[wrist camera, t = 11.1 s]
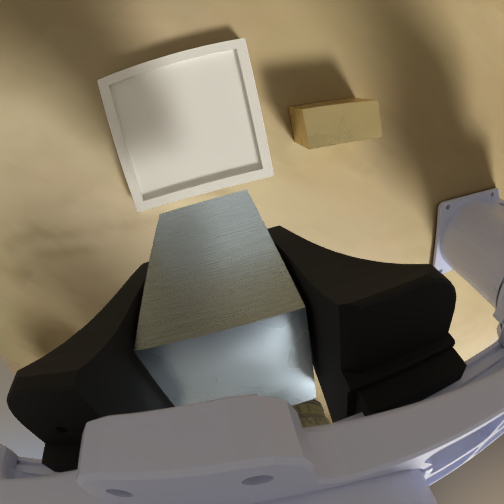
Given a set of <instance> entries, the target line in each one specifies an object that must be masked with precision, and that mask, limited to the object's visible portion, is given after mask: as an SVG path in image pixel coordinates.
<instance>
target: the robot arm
mask: <svg viewBox="0 0 504 504" xmlns="http://www.w3.org/2000/svg"><path fill="white" fill-rule="evenodd" d="M499 195H500V190H499V189H498V188H493V189H489V190H485V191H482V192H478V193H474V194H470V195H467V196H463V197H459V198H455V199H451V200H448V201H444V202H441V203H440V204H439V206H438V217H437V230H436V240H435V249H434V258H433V265H431V264H395V263H384V262H376V261H370V260H365V259H360V258H355V257H351V256H348V255H344V254H341V253H337V252H334V251H331V250H329V249H326V248H324V247H321V246H319V245H316V244H314V243H312V242H310V241H308V240H306V239H304V238H302V237H300V236H298V235H296V234H294V233H292V232H290V231H289V230H287V229H285V228H283V227H281V226H276V227H272V228H269V229H267V230H268V232H269V234H270V236H271V238H272V240H273V242H274V244H275V246H276V248H277V250H278V252H279V254H280V256H281V258H282V260H283V262H284V264H285V266H286V268H287V270H288V272H289V274H290V276H291V278H292V280H293V283H294V285H295V287H296V289H297V291H298V293H299V295H300V297H301V299H302V301H303V303H304V305H305V307H306V315H307V322H308V330H309V338H310V347H311V355H312V364H313V366H314V369H315V372H316V375H317V377H318V380H319V383H320V386H321V389H322V392H323V395H324V397H325V400H326V403H327V406H328V409H329V412H330V415H331V418H332V422H333V423H330V424H325V425H319V426H313V427H306V428H302V425H301V422H300V419H299V416H298V413H297V411H296V410H295V409H294V408H293V407H292V406H291V405H290V404H289V403H288V402H287V401H286V400H283V399H279V398H275V397H270V396H265V395H260V394H250V395H239V396H228V397H223V398H218V399H214V400H209V401H204V402H199V403H194V404H188V405H183V406H177V407H175V406H174V405H173V403H172V402H171V401H170V400H169V398H168V397H167V396H166V394H165V393H164V392H163V391H162V389H161V388H160V387H159V385H158V384H157V383H156V381H155V380H154V379H153V377H152V376H151V374H150V373H149V372H148V370H147V369H146V367H145V366H144V365H143V363H142V362H141V360H140V359H139V358H138V356H137V355H136V353H135V352H134V348H135V341H136V334H137V328H138V321H139V315H140V309H141V303H142V297H143V292H144V286H145V281H146V275H147V270H148V265H149V262H146V263H143V264H142V265H141V266H140V267H139V268H138V269H137V270H136V271H135V272H134V274H133V275H132V276H131V277H130V278H129V279H128V281H127V282H126V283H125V284H124V285H123V287H122V288H121V289H120V290H119V291H118V292H117V294H116V295H115V296H114V297H113V298H112V299H111V300H110V301H109V302H108V304H107V305H106V306H105V307H104V308H103V309H102V310H101V311H100V312H99V313H98V314H97V315H96V316H95V317H94V318H93V319H92V320H91V321H90V322H89V323H88V324H87V325H86V326H84V327H83V328H82V329H81V330H80V331H78V332H77V333H76V334H75V335H73V336H72V337H71V338H70V339H68V340H67V341H66V342H64V343H63V344H62V345H60V346H59V347H57V348H56V349H54V350H53V351H51V352H50V353H48V354H47V355H45V356H44V357H42V358H40V359H38V360H37V361H35V362H33V363H31V364H29V365H27V366H26V367H24V368H22V369H20V370H18V371H17V373H16V375H15V378H14V380H13V383H12V385H11V388H10V391H9V393H8V396H7V404H8V407H9V409H10V410H11V412H12V413H13V415H14V416H15V417H16V418H17V419H18V420H19V421H20V422H21V423H22V424H23V425H24V426H25V427H26V428H27V429H29V430H30V431H31V432H32V433H33V434H35V435H36V436H37V437H38V438H39V439H41V440H42V441H43V442H44V443H45V448H44V453H43V458H42V459H33V458H25V457H18V456H17V455H16V454H15V453H14V452H13V451H12V450H10V449H9V448H7V447H6V446H4V445H2V444H0V504H437V503H436V500H435V499H434V496H433V494H432V492H431V490H430V488H429V485H431V484H433V483H434V482H436V481H438V480H439V479H441V478H443V477H444V476H446V475H447V474H449V473H450V472H452V471H453V470H455V469H457V468H458V467H460V466H461V465H462V464H464V463H465V462H467V461H468V460H470V459H471V458H472V457H474V456H475V455H476V454H478V453H479V452H480V451H482V450H483V449H484V448H486V447H487V446H488V445H489V444H491V443H492V442H493V441H495V440H496V439H497V438H498V437H499V436H501V435H502V434H503V433H504V200H502V199H500V198H499ZM446 206H447V207H446ZM451 270H455V271H456V272H457V273H458V274H459V275H460V276H461V277H462V278H463V279H465V280H466V281H467V282H468V283H469V284H470V285H471V286H472V287H473V288H474V289H475V290H477V291H478V292H479V293H480V294H481V295H482V296H483V297H484V298H485V299H486V300H487V301H488V302H489V303H490V304H491V305H492V306H493V307H494V308H495V309H496V310H495V312H494V314H493V316H494V317H495V318H496V320H497V321H498V322H499V324H498V326H497V334H498V337H499V340H498V341H497V342H495V343H494V344H492V345H491V346H489V347H488V348H486V349H484V350H483V351H481V352H480V353H478V354H477V355H475V356H473V357H472V358H470V359H468V360H467V361H465V362H464V361H463V360H462V358H461V357H460V356H459V354H458V353H457V352H456V351H455V349H454V348H453V346H454V344H455V340H454V339H453V337H452V336H451V335H450V334H449V333H448V331H449V328H450V324H451V321H452V317H453V313H454V309H455V303H456V291H455V288H454V286H453V285H452V283H451V282H450V281H449V280H448V279H447V278H446V277H445V276H444V275H443V274H444V273H446V272H449V271H451Z"/></svg>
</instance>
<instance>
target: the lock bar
mask: <svg viewBox="0 0 504 504" xmlns="http://www.w3.org/2000/svg"><path fill="white" fill-rule="evenodd" d="M288 110H289V115H290V120H291V126H292V131H293V137H294V142H296V143H298V144H300V145H302V146H304V147H306V148H308V149H314V148H319V147H324V146H330V145H336V144H341V143H347V142H353V141H360V140H366V139H373V138H380V137H382V128H381V119H380V110H379V102H378V100H372V99H362V98H350V99H341V100H333V101H325V102H317V103H310V104H304V105H297V106H291V107H288Z"/></svg>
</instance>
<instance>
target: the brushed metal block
mask: <svg viewBox="0 0 504 504" xmlns="http://www.w3.org/2000/svg"><path fill="white" fill-rule="evenodd" d="M134 352H135V353H136V355H137V356H138V358H139V359H140V360H141V362H142V363H143V365H144V366H145V367H146V369H147V370H148V372H149V373H150V374H151V376H152V377H153V379H154V380H155V381H156V383H157V384H158V385H159V387H160V388H161V389H162V391H163V392H164V393H165V394H166V396H167V397H168V398H169V400H170V401H171V402H172V403H173V405H174V406H175V407H177V406H183V405H188V404H194V403H199V402H204V401H209V400H214V399H218V398H223V397H228V396H239V395H250V394H260V395H265V396H270V397H275V398H279V399H283V400H286V401H287V402H288V403H289V404H290V405H291V406H292V405H295V404H299V403H302V402H305V401H309V400H312V399H315V398H316V392H315V382H314V373H313V364H312V355H311V347H310V338H309V330H308V322H307V315H306V307H305V305H304V303H303V301H302V299H301V297H300V295H299V293H298V291H297V289H296V287H295V285H294V283H293V280H292V278H291V276H290V274H289V272H288V270H287V268H286V266H285V264H284V262H283V260H282V258H281V256H280V254H279V252H278V250H277V248H276V246H275V244H274V242H273V240H272V238H271V236H270V234H269V232H268V230H267V228H266V226H265V224H264V222H263V220H262V218H261V216H260V214H259V212H258V210H257V208H256V206H255V204H254V202H253V200H252V198H251V196H250V194H249V193H248V191H247V190H244V191H240V192H236V193H232V194H228V195H225V196H221V197H218V198H214V199H210V200H207V201H203V202H200V203H196V204H193V205H189V206H186V207H182V208H179V209H176V210H172V211H169V212H166V213H162V214H160V216H159V220H158V224H157V228H156V233H155V237H154V242H153V246H152V251H151V256H150V260H149V265H148V270H147V275H146V281H145V286H144V292H143V297H142V303H141V309H140V315H139V321H138V328H137V334H136V341H135V348H134Z"/></svg>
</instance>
